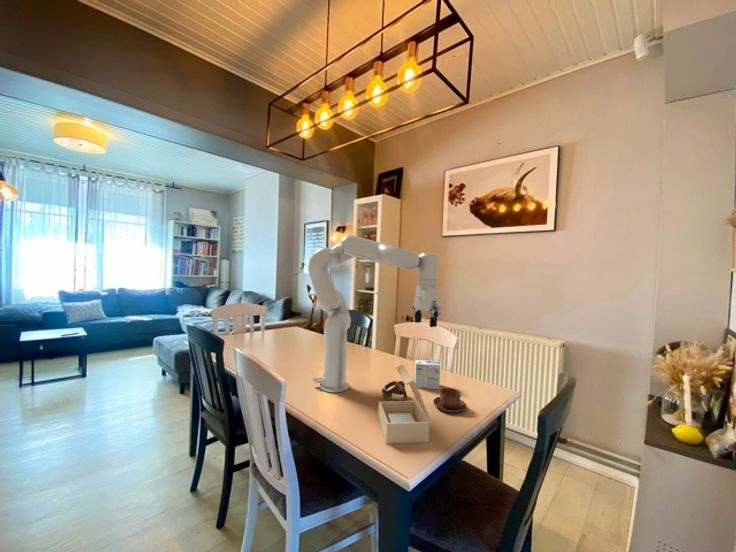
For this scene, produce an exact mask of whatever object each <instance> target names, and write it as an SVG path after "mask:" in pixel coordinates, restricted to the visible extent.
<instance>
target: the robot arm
mask: <svg viewBox="0 0 736 552" xmlns="http://www.w3.org/2000/svg"><path fill="white" fill-rule="evenodd" d="M354 257H355V258H359V259H362V260H366V261H369V262H373V263H377V264H384V265H388V266H393V267H396V268H398V269H399V268H400V269H403V270H406V271H415V270H416V271H417V270H418V281H417V282H418V283H417V286H416V290H415V292H414V293H415V295H414V300H413V301H412V304H411V305H412V309H413V312H414V323H417V324H418V323H422V315H423V314H422V312H429V314H430V317H429V328H436V327H437V325H438V318H439V315H440V314H441V312H442V309H443V307H442V306H441V305H440V304H439V295H438V287H437V285H438V268H439V267H438V266H439V256H438V254H436V253H432V252H430V253H429V252H422V253H417V252H415V251H412V250H408V249H405V248H400V247H396V246H393V245H389V244H386V243H384V242H380V241H376V240H373V239H372V240H371V239H368V238H364V237H360V236H357V235H352V234H348V235H345V236H344V237H343V238H342V239H341V241H340V242H339V244H337V245H335V246H333V247H331V248H330V247H320V248H319V249H317V250H316V251H315V252H313V254H312V255H311V257H310V258H309V261H308V274H309V278H310V280H311V283H312V286H313V290H314V293H315V294H314V295H315V296H316V299H317V302H318V306H319V307H320V308H319V309H321V310H322V311H323V312H327V315H328V317H327V318H326V319H325V322H324V325H323V333H324V334H323V335H324V357H323V359H324V361H323V362H324V363H323V375H322V376H319V377H318V376H314V377H313V378H312V382H313V383H315V384H319V388H320V390H322V391H324V392H327V393H341V392H345V391H348V390H349V389H350V383H349V382H348V381H347V357H348V355H347V354H348V337H347V335H348V332H347V331H348V329H349V328H350V327H351V323H352V317H351V314H350V311H349V307H348V306H347V303H346V302H347V301H346V300H345V297H344V295H343V293H342V292H341V291H340V290H339V289H338V288H336V287H335V285H334V282H333V278H332V276H331V273H330V271H329V268H330V269H331V268H336V267H338V266H340V265H342V264H344V263H346V262H347V261H349V260H351V259H353V258H354Z"/></svg>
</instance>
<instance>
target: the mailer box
mask: <svg viewBox="0 0 736 552" xmlns="http://www.w3.org/2000/svg"><path fill="white" fill-rule="evenodd" d="M377 417H378V418H377V420H378V422H379V425H380V428H381V429H380V430H381V432H382V436H383V438H384V441H385V444H386V445H388V444H389V445H391V444H392V445H394V444H397V445H398V444H415V443H417V444H418V443H419V444H420V443H421V444H422V443H430V421H429V419H428V418H427V416H426V415H425V413H424V411H423V410H422V408H421V407H420V405H419V404H418V402H417V401H416V400H408V401H404V400H397V401H396V400H391V401H388V400H387V401H378V416H377Z"/></svg>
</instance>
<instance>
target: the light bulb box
mask: <svg viewBox="0 0 736 552" xmlns="http://www.w3.org/2000/svg"><path fill="white" fill-rule="evenodd" d="M414 363H415V364H414V366H415V367H414V381H415V383H416V386H417V388H418V389H429V390H431V389H432V390H440V382H441V381H440V379H441V378H440V377H441V374H440V373H441V365H440V363H439V360H428V359H427V360H423V359H415V362H414Z"/></svg>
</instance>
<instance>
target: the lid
mask: <svg viewBox="0 0 736 552" xmlns="http://www.w3.org/2000/svg"><path fill="white" fill-rule="evenodd" d="M395 369H396V371H397V372H398V374H399V375H400V377H401V379H402V381H403V382H404V384H405V386H408V385H409V387H410V389H411V390H412V391H411V392H412V394H413V396H414V399H415V401H416V402H417V404H418V405H419V407H420V408H421V410H422V411H423V413H424V415H425V416H426V418H427V419H428V421H429V422H430V421H431V419H432V418H431V417H430V415H429V412H428V410H427V407H426V405H425V402H424V400H423V398H422V395H421V393H420V391H419V388H417V386H416V383H415V379H413V377H412V376H411V375H410V373H409V372H408V371H407V369H406V367H405V366H404V365H403V364H401V365H398V366H396V367H395Z"/></svg>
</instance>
